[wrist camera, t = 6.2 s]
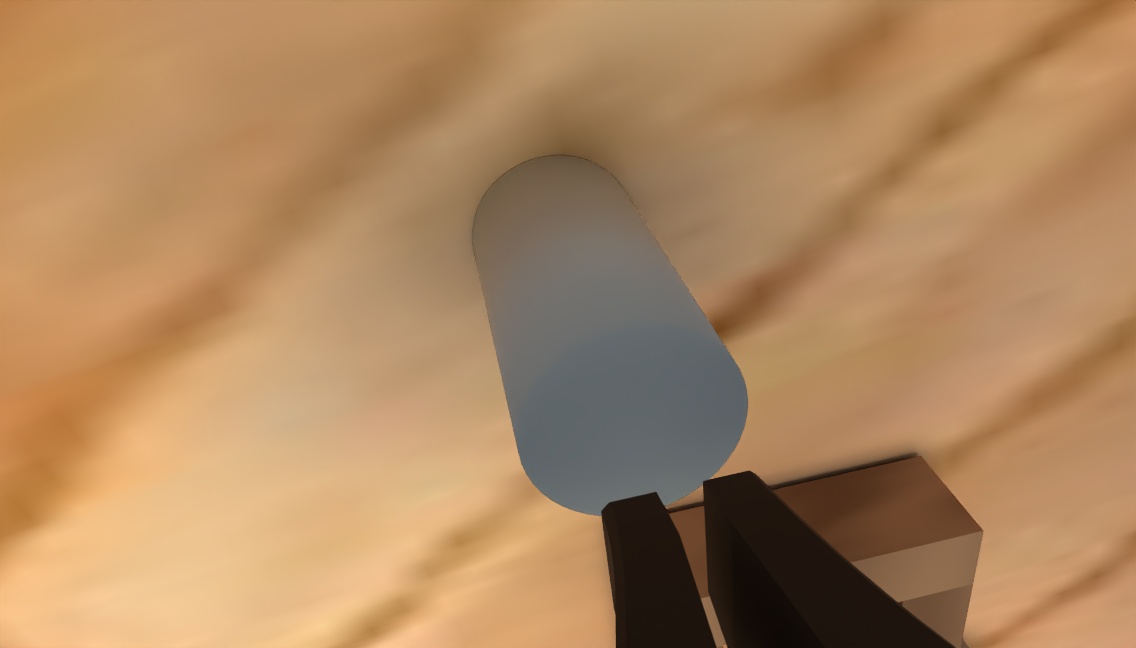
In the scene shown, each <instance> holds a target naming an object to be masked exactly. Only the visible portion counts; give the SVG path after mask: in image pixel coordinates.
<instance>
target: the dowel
mask: <svg viewBox="0 0 1136 648" xmlns="http://www.w3.org/2000/svg"><path fill="white" fill-rule="evenodd" d="M472 242H473V250H474V254H475V259H476V263H477V268H478V272H479V277H480V281H481V286H482V290H483V295H484V299H485V304H486V308H487V313H488V317H489V322H490V327H491V331H492V336H493V340H494V345H495V349H496V354H497V358H498V363H499V367H500V372H501V376H502V381H503V385H504V390H505V394H506V399H507V403H508V408H509V412H510V417H511V421H512V426H513V430H514V435H515V440H516V444H517V449H518V453H519V456H520V460H521V463H522V466H523V468H524V470H525V472H526V474H527V476H528V477H529V479H530V480H531V481H532V483H533V484H534V485H535V486H536V487H537V488H538V489H539V490H540V491H541V492H542V493H543V494H544V495H545V496H547V497H548V498H549V499H551V500H552V501H554V502H556V503H558V504H559V505H561V506H563V507H566V508H568V509H571V510H574V511H577V512H581V513H585V514H590V515H597V516H602V515H601V511H602V509H603V508H604V507H605V506H606V505H607V504H608V503H609V502H613V501H617V500H621V499H626V498H630V497H635V496H639V495H643V494H648V493H652V492H657V494H658V496H659V497H660V499H661V501H662V503H663V504H664V506H666V505H668V504H671V503H673V502H675V501H677V500H679V499H681V498H683V497H685V496H686V495H688V494H690V493H691V492H693V491H695V490H696V489H697V488H699V487H700V486H701V485H703V481H705V480H709V479H710V478H711V477H712V476H713V475H714V474H715V473H716V472H717V471H718V470H719V469H720V468H721V467H722V466H723V464H724V463H725V462H726V461H727V459H728V458H729V457H730V455H731V454H732V452H733V451H734V449H735V447H736V445H737V443H738V441H739V440H740V437H741V435H742V432H743V429H744V426H745V422H746V417H747V409H748V397H747V389H746V385H745V381H744V378H743V376H742V374H741V371H740V369H739V367H738V366H737V364H736V363H735V361H734V359H733V358H732V356H731V355H730V353H729V352H728V350H727V349H726V347H725V346H724V344H723V342H722V341H721V339H720V338H719V336H718V335H717V333H716V332H715V330H714V328H713V327H712V325H711V324H710V322H709V321H708V319H707V318H706V316H705V315H704V313H703V311H702V310H701V308H700V307H699V305H698V304H697V302H696V301H695V299H694V298H693V296H692V294H691V293H690V291H689V290H688V288H687V287H686V285H685V284H684V282H683V280H682V279H681V277H680V276H679V274H678V273H677V271H676V270H675V268H674V267H673V265H672V263H671V262H670V260H669V259H668V257H667V256H666V254H665V253H664V251H663V250H662V248H661V246H660V245H659V243H658V242H657V240H656V239H655V237H654V236H653V234H652V232H651V231H650V229H649V228H648V226H647V225H646V223H645V222H644V220H643V219H642V217H641V215H640V214H639V212H638V211H637V209H636V208H635V206H634V205H633V203H632V201H631V200H630V198H629V197H628V195H627V194H626V192H625V191H624V189H623V188H622V186H621V185H620V183H619V182H618V181H617V180H616V179H615V178H614V177H613V175H611V174H610V173H609V172H608V171H606V170H605V169H604V168H602V167H600V166H599V165H597V164H595V163H593V162H591V161H588V160H586V159H582V158H579V157H574V156H567V155H552V156H544V157H539V158H535V159H532V160H529V161H527V162H524V163H521V164H520V165H518V166H516V167H514V168H512V169H511V170H509V171H508V172H506V173H505V174H504V175H502V176H501V177H500V178H499V179H498V180H497V181H496V182H495V183H494V184H493V185H492V186H491V187H490V189H489V190H488V191H487V192H486V194H485V196H484V197H483V199H482V200H481V202H480V205H479V207H478V209H477V212H476V215H475V218H474V223H473V229H472Z"/></svg>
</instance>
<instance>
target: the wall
mask: <svg viewBox="0 0 1136 648" xmlns="http://www.w3.org/2000/svg"><path fill="white" fill-rule="evenodd" d="M961 648H969V647H968V646H967V645H966V643H965V642H964V640H963V639H962V642H961Z"/></svg>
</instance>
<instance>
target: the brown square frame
mask: <svg viewBox="0 0 1136 648" xmlns="http://www.w3.org/2000/svg"><path fill="white" fill-rule="evenodd" d="M773 491H774V492H775V493H776V494H777V495H778V496H779V497H780V498H781V499H782V500H783V501H784V502H785V503H786V504H787V505H788V506H789V507H790V508H791V509H792V510H793V511H794V512H795V513H796V514H797V515H799V516H800V517H801V518H802V519H803V520H804V521H805V522H806V523H807V524H808V525H809V526H810V527H811V528H813V529H814V530H815V531H816V532H817V533H818V534H819V535H820V536H821V537H822V538H823V539H825V540H826V541H827V542H828V543H829V544H830V545H831V546H832V547H833V548H835V549H836V550H837V551H838V552H839V553H840V554H841V555H842V556H844V557H845V558H846V559H847V560H848V561H849V562H850V563H852V564H853V565H854V566H855V567H856V568H858V569H859V570H860V571H861V572H862V573H863V574H865V575H866V576H867V577H868V578H869V579H871V580H872V581H873V582H874V583H875V584H876V585H878V586H879V587H880V588H881V589H882V590H884V591H885V592H886V593H887V594H888V595H890V596H891V597H892V598H893V599H894V600H896V601H897V602H898V603H899V604H901V605H902V606H903V607H904V608H906V609H907V610H908V611H909V612H911V613H912V614H913V615H914V616H916V617H917V618H918V619H919V620H921V621H922V622H923V623H925V624H926V625H927V626H929V627H930V628H931V629H933V630H934V631H935V632H936V633H938V634H939V635H940V636H942V637H943V638H944V639H946V640H947V641H948V642H950V643H951V644H952V645H953V646H955V647H956V648H961V642H962V637H963V632H964V627H965V622H966V617H967V612H968V607H969V602H970V597H971V591H972V586H973V581H974V576H975V571H976V566H977V561H978V556H979V551H980V546H981V540H982V535H983V530H982V529H981V527H980V526H979V525H978V524H977V523H976V521H975V520H974V519H973V518H972V517H971V515H970V514H969V513H968V512H967V511H966V509H965V508H964V507H963V506H962V505H961V503H960V502H959V501H958V500H957V499H956V497H955V496H954V495H953V494H952V493H951V492H950V490H949V489H948V488H947V487H946V486H945V484H944V483H943V482H942V481H941V480H940V478H939V477H938V476H937V475H936V474H935V472H934V471H933V470H932V469H931V468H930V466H929V465H928V464H927V463H926V462H925V460H924V459H923V458H922V457H921V456H919V457H915V458H910V459H906V460H901V461H897V462H893V463H888V464H884V465H880V466H875V467H871V468H866V469H862V470H858V471H853V472H849V473H845V474H840V475H836V476H831V477H827V478H823V479H818V480H814V481H810V482H805V483H801V484H797V485H792V486H788V487H783V488H779V489H775V490H773ZM669 515H670V517H671V519H672V521H673V523H674V525H675V527H676V529H677V530H678V532H679V534H680V537H681V540H682V543H683V546H684V549H685V552H686V555H687V558H688V561H689V564H690V567H691V570H692V573H693V576H694V579H695V582H696V585H697V588H698V591H699V594H700V598H701V601H702V604H703V607H704V610H705V613H706V616H707V619H708V622H709V625H710V628H711V631H712V634H713V638H714V641H715V644H716V647H717V648H723V645H726V642H725V639H724V636H723V634H722V631H721V628H720V625H719V622H718V619H717V616H716V613H715V610H714V607H713V604H712V602H711V599H710V596H709V593H708V579H707V557H706V536H705V514H704V506H700V507H696V508H692V509H687V510H683V511H678V512H674V513H670V514H669Z"/></svg>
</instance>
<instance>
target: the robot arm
mask: <svg viewBox="0 0 1136 648" xmlns="http://www.w3.org/2000/svg"><path fill="white" fill-rule="evenodd" d="M703 492H704V514H705V536H706V557H707V579H708V593H709V596H710V599H711V602H712V604H713V607H714V610H715V613H716V616H717V619H718V622H719V625H720V628H721V631H722V634H723V636H724V639H725V642H726V645H727V647H728V648H956V647H955V646H953V645H952V644H951V643H950V642H948V641H947V640H946V639H944V638H943V637H942V636H940V635H939V634H938V633H936V632H935V631H934V630H933V629H931V628H930V627H929V626H927V625H926V624H925V623H923V622H922V621H921V620H919V619H918V618H917V617H916V616H914V615H913V614H912V613H911V612H909V611H908V610H907V609H906V608H904V607H903V606H902V605H901V604H899V603H898V602H897V601H896V600H894V599H893V598H892V597H891V596H890V595H888V594H887V593H886V592H885V591H884V590H882V589H881V588H880V587H879V586H878V585H876V584H875V583H874V582H873V581H872V580H871V579H869V578H868V577H867V576H866V575H865V574H863V573H862V572H861V571H860V570H859V569H858V568H856V567H855V566H854V565H853V564H852V563H850V562H849V561H848V560H847V559H846V558H845V557H844V556H842V555H841V554H840V553H839V552H838V551H837V550H836V549H835V548H833V547H832V546H831V545H830V544H829V543H828V542H827V541H826V540H825V539H823V538H822V537H821V536H820V535H819V534H818V533H817V532H816V531H815V530H814V529H813V528H811V527H810V526H809V525H808V524H807V523H806V522H805V521H804V520H803V519H802V518H801V517H800V516H799V515H797V514H796V513H795V512H794V511H793V510H792V509H791V508H790V507H789V506H788V505H787V504H786V503H785V502H784V501H783V500H782V499H781V498H780V497H779V496H778V495H777V494H776V493H775V492H774V491H773V490H772V489H771V488H769V487H768V486H767V485H766V484H765V483H764V482H763V481H762V480H761V479H760V478H759V477H758V476H757V475H756V474H754V473H753V472H751V471H745V472H741V473H736V474H732V475H727V476H723V477H719V478H714V479H710V480H705V481H703ZM601 515H602V523H603V530H604V537H605V545H606V552H607V560H608V567H609V575H610V582H611V589H612V597H613V604H614V610H615V614H616V648H717V647H716V644H715V641H714V638H713V634H712V631H711V628H710V625H709V622H708V619H707V616H706V613H705V610H704V607H703V604H702V601H701V598H700V594H699V591H698V588H697V585H696V582H695V579H694V576H693V573H692V570H691V567H690V564H689V561H688V558H687V555H686V552H685V549H684V546H683V543H682V540H681V537H680V534H679V532H678V530H677V529H676V527H675V525H674V523H673V521H672V519H671V517H670V515H669V513H668V511H667V510H666V508H665V506H664V504H663V503H662V501H661V499H660V497H659V496H658V494H657V492H652V493H648V494H643V495H639V496H635V497H630V498H626V499H621V500H617V501H613V502H609V503H608V504H607V505H606V506H605V507H604V508H603V509H602V511H601Z"/></svg>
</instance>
